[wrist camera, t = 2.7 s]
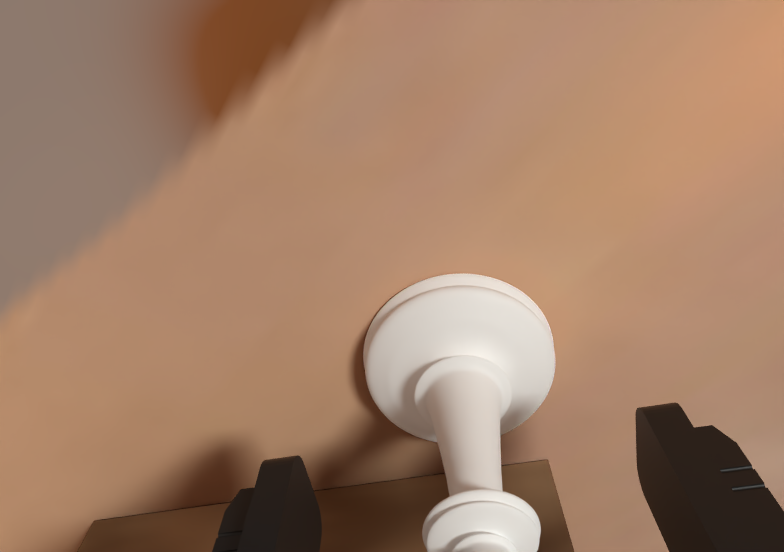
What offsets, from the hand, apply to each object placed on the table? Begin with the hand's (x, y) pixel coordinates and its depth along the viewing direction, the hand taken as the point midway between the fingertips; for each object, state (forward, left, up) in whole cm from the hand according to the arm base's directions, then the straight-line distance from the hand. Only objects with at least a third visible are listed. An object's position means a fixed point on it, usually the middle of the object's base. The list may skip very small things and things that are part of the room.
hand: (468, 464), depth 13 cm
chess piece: (0, 0, -4) cm, 4 cm away
